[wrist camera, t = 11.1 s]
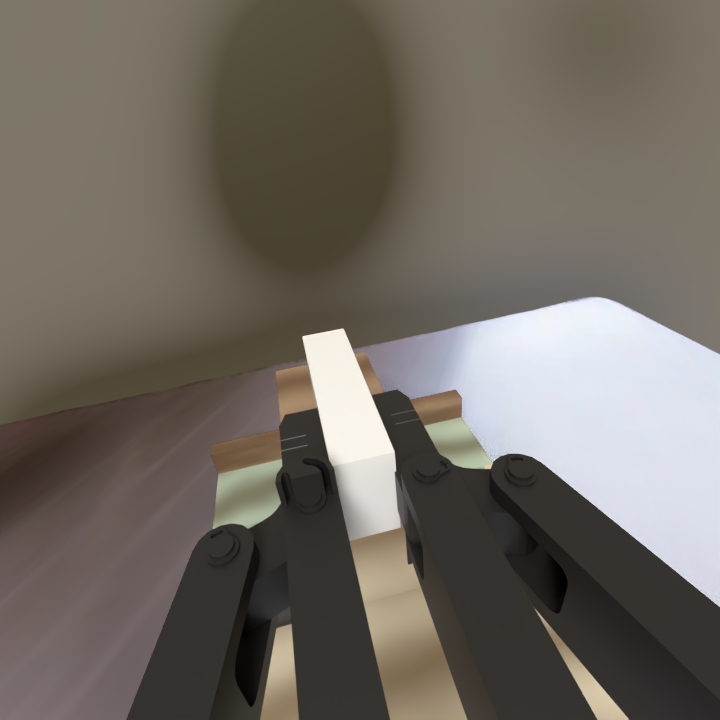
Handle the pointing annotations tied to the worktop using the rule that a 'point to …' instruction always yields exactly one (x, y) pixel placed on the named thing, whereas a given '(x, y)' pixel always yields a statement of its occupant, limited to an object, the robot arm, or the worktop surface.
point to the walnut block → (298, 386)
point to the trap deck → (375, 581)
